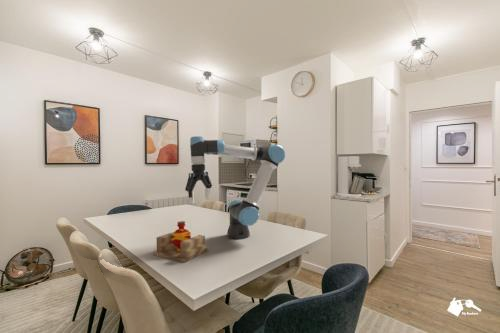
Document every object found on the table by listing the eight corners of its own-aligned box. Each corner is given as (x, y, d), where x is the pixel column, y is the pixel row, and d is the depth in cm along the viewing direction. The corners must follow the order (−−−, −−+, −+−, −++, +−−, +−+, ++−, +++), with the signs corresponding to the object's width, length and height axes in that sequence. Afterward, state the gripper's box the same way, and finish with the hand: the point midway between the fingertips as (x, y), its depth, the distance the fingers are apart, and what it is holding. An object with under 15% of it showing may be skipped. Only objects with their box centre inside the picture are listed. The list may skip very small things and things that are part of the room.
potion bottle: (167, 251, 125) (167, 223, 125) (179, 245, 135) (179, 219, 135) (184, 254, 121) (183, 225, 121) (195, 247, 131) (195, 220, 131)
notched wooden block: (178, 244, 141) (178, 230, 141) (207, 250, 130) (207, 235, 130) (153, 254, 125) (153, 238, 125) (183, 262, 114) (183, 244, 114)
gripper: (206, 163, 147) (208, 197, 147) (176, 164, 125) (179, 204, 125) (216, 163, 143) (218, 197, 144) (187, 164, 121) (189, 205, 122)
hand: (200, 201), depth 134 cm, fingers open, 13 cm apart
